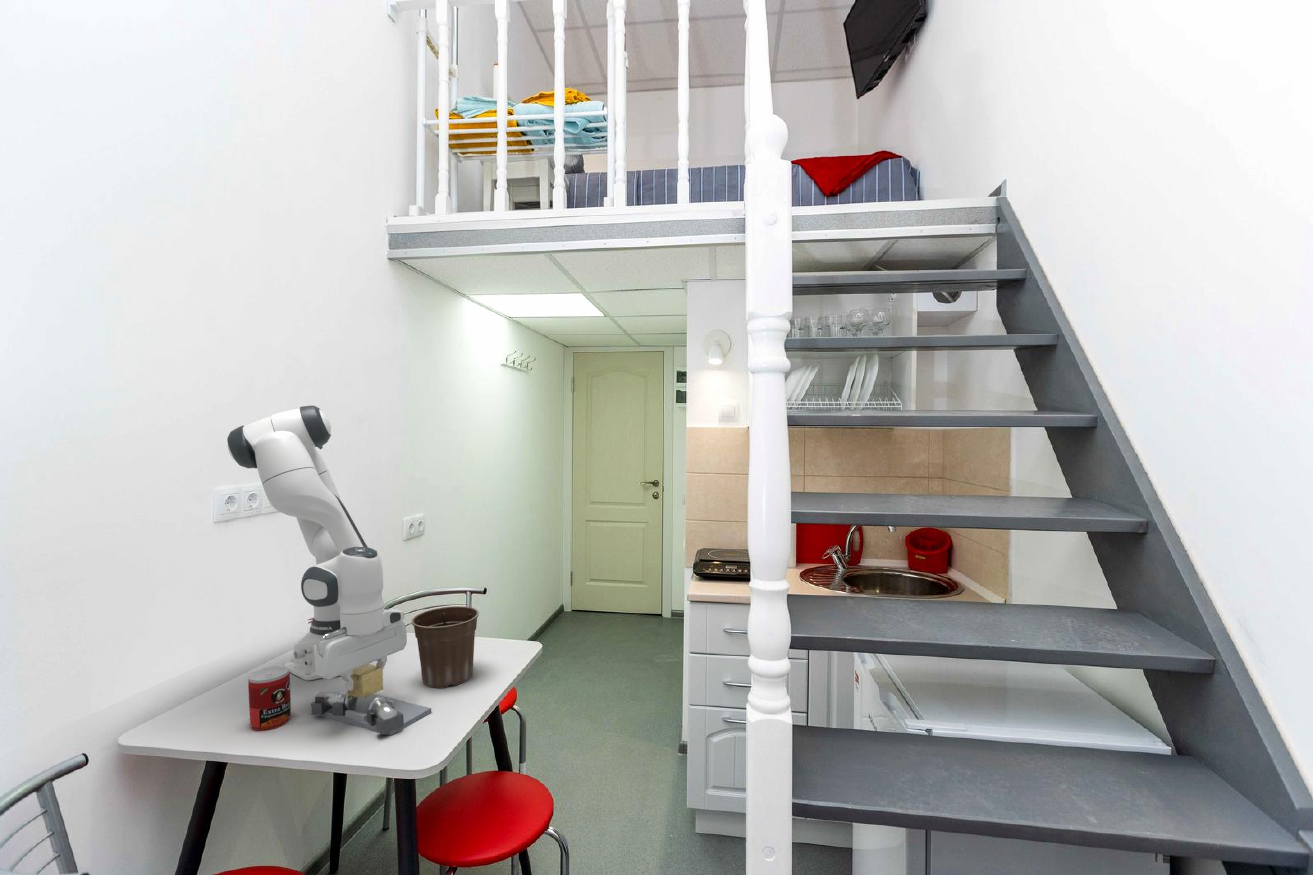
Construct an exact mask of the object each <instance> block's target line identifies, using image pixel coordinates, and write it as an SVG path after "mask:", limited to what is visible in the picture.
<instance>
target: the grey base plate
mask: <svg viewBox="0 0 1313 875" xmlns="http://www.w3.org/2000/svg"><path fill="white" fill-rule="evenodd" d="M379 696H381V697H384V698H385V699H386V700H387V701H388V704H391V705H392V706H394V710H395V711H400V712H401V713H402V714H403V718H404V726H403V727H400V728H397V729H394V730H392V731H389V732H386V733H383V735H387V736H393V735H394V734H396V733H398V732H399V731H402V730H403V729H405V728H407V727H408V726H411V725H412V724H414V723H416V722H418V721H419V720H421V719H423V718H424V717H427V716H428V715H429V714H431V713H432V707H428V706H425V705H420V704H416V703H412V702H408V701H405V700H399V699H396V698H392V697H388V696H383V695H381V694H380V695H379V694H377V693H375V694H372V695H370V696H368V697H366V698H364V699H362V698H358V700H357V703H356V706H355V707H354V708H353V709H351V710H347V711H345V715H343V716H333V707H332V708H331V709H330V710H328V711H327V712H325V713H324V714H323V715H319V716H320V717H323V718H328V719H332V720H334V721H338V722H342V723H344V724H345V723H346V724H349V725H352V726H356V727H359V728H363V729H367V730H370V731H374V732H377V731H376V725H374V726H371V725H370V724H368V723H367V711H368V705H369V703H370V702H371V700H373V699H374V698H376V697H379Z"/></svg>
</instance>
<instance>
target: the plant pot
mask: <svg viewBox="0 0 1313 875" xmlns="http://www.w3.org/2000/svg"><path fill="white" fill-rule="evenodd" d="M479 616H480V611H479V610H478V609H476V608H474V607H470V606H462V605H461V606H459V605H458V606H456V605H455V606H443V607H438V608H437V607H436V608H433V609H429V610H426V611H423V612H420V613H419V614H417V615H415V616H413V618H412V619H411V625H412V626H413V628H414V635H415V638H416V640H417V648H418V655H419V663H420V670H421V680H422V683H423V685H425V686H426V687H429V688H436V689H439V688H440V689H443V688H447V687H448V686H451V685H452V686H458V685H460V684H463V683H465V682H467V681H468V680H470V679H471V678H472V676H474V658H475V656H474V655H475V653H474V652H475V640H476V639H475V638H476V637H475V636H476V630H477V623H478V618H479Z"/></svg>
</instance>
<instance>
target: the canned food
mask: <svg viewBox="0 0 1313 875" xmlns="http://www.w3.org/2000/svg"><path fill="white" fill-rule="evenodd" d="M290 673H291V672H289V668H288V667H284V666H282V665H281V666H278V665H277V666H270V667H265V668H260V669H258V670H256V671H253V672H252V673H251V674H249V676H248V679H247V681H248V704H249V705H248V706H249V707H248V708H249V709H248V710H249V725H250V728H251V729H253V730H254V731H259V732H260V731H270V730H273V729H276V728H280V727H281V726H284V725H285V724H286V723H288V722H289V721H290V719H291V716H292V707H291V706H292V705H291V704H292V703H291V699H292V698H291V675H290Z"/></svg>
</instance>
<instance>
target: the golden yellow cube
mask: <svg viewBox="0 0 1313 875" xmlns="http://www.w3.org/2000/svg"><path fill="white" fill-rule="evenodd" d="M352 672H353V674H352V675H350V677H351V678H352V679H353V680H357V688H356V689H353V690H351V691H349V690H347V692H348V695H351V696H355V697H358V698H362V699H364V698H366V697H368V696H370V695H372V694H377V693H379V692H381V691H383V690H384V681H383V680H384V678H383V676H384V674H383V675H382V667H379V666H376V665H374V664H370V663H369V664H366V665H364V666H361V667H359V668H356V669H354V670H352Z"/></svg>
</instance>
